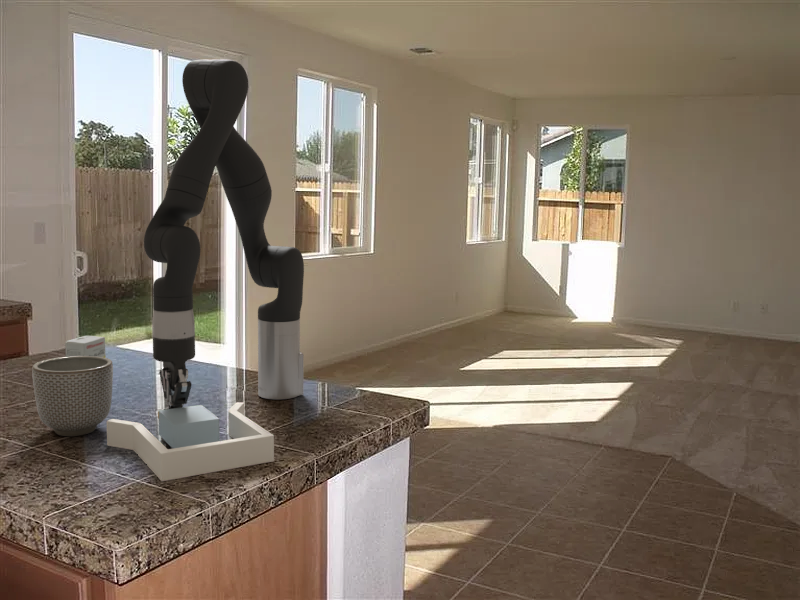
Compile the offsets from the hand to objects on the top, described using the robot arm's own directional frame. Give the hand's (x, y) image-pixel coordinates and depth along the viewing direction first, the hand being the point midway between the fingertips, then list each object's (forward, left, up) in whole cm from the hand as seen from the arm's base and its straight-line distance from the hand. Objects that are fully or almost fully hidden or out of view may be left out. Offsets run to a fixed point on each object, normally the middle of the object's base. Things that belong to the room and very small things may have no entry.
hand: (175, 423), depth 149 cm
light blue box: (0, +8, -2) cm, 8 cm away
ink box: (+8, -40, -2) cm, 41 cm away
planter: (+16, -10, -2) cm, 19 cm away
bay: (0, +12, -2) cm, 12 cm away
